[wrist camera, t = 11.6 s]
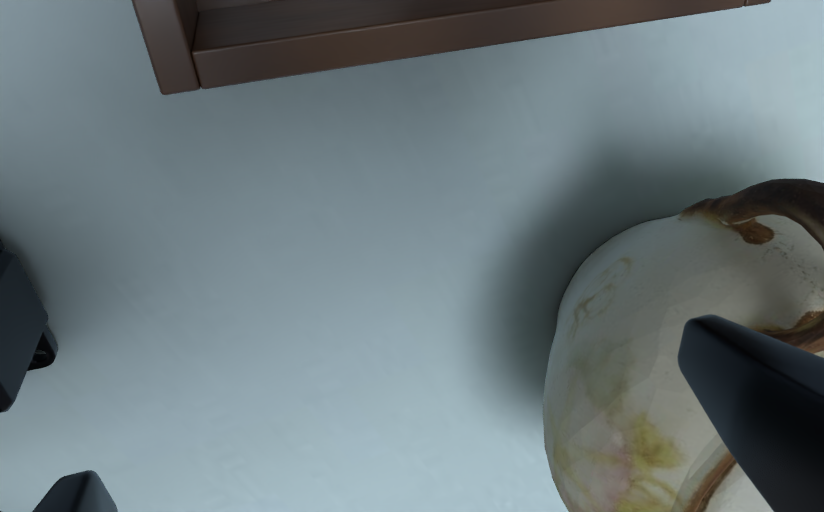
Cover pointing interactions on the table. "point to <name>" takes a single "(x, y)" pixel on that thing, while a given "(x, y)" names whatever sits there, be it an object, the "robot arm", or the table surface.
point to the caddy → (360, 31)
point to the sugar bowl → (674, 347)
